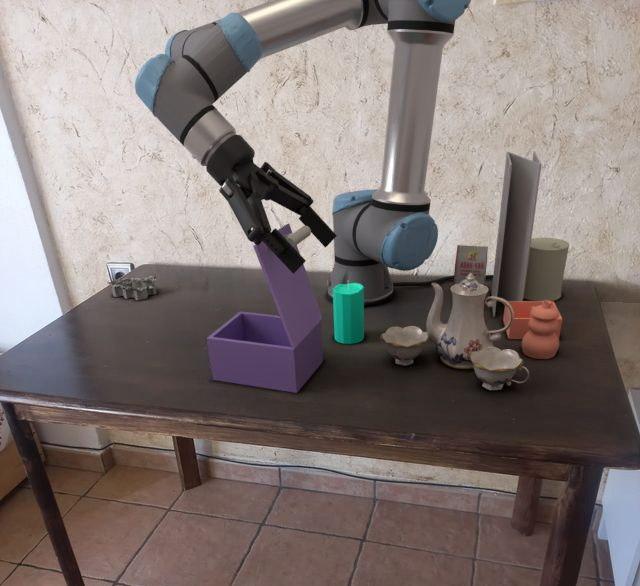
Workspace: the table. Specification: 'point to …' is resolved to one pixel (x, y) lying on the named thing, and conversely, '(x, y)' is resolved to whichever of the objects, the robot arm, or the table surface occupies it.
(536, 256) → the can
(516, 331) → the pottery
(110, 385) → the table surface
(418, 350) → the chinaware
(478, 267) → the small printed carton
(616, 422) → the table surface
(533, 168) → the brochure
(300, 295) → the lid
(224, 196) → the robot arm
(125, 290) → the egg carton
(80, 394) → the table surface
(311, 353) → the box
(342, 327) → the candle
